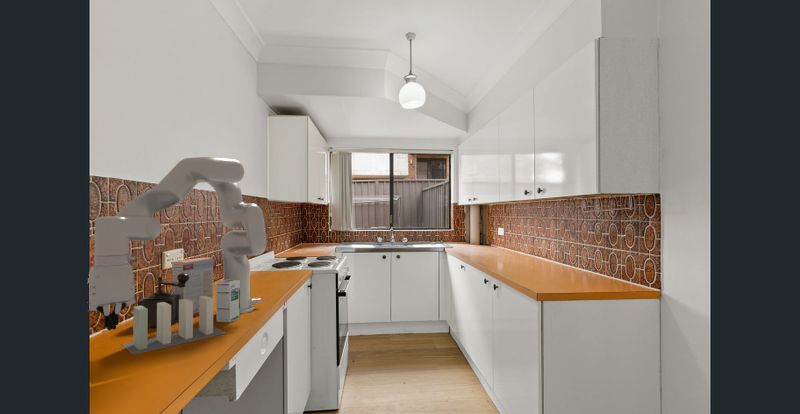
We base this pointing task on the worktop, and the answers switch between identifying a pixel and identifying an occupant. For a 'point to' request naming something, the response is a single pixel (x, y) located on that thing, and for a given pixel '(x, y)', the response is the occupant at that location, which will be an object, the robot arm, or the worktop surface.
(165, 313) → the domino
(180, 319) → the domino
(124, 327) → the worktop surface
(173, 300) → the dark block with crank
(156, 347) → the mat
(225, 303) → the syrup box
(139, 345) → the domino
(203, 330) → the domino
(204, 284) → the cracker box
